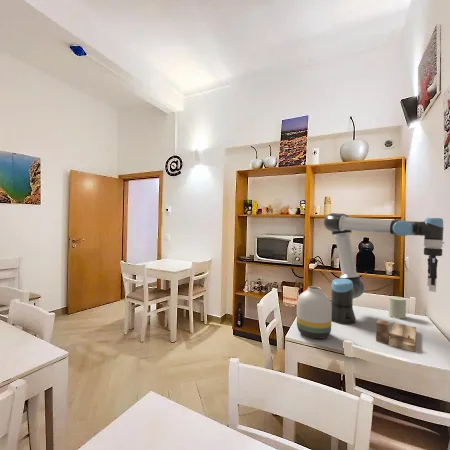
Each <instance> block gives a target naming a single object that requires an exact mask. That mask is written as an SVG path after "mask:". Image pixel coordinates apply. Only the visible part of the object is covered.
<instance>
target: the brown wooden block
mask: <svg viewBox="0 0 450 450" xmlns="http://www.w3.org/2000/svg"><path fill="white" fill-rule="evenodd" d="M375 327H376V328H375V329H376V330H375V331H376V332H375V334H376V335H375V341H376V342H379V343H383V344H387V345H389V338H390V337H394V338H399V339H403V340H407V341H412V342H414V339H413V338H410V335H408V337H405V336H400V335H396V334H391V332H390V321H386V320H381V319H377V321H376V326H375Z"/></svg>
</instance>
